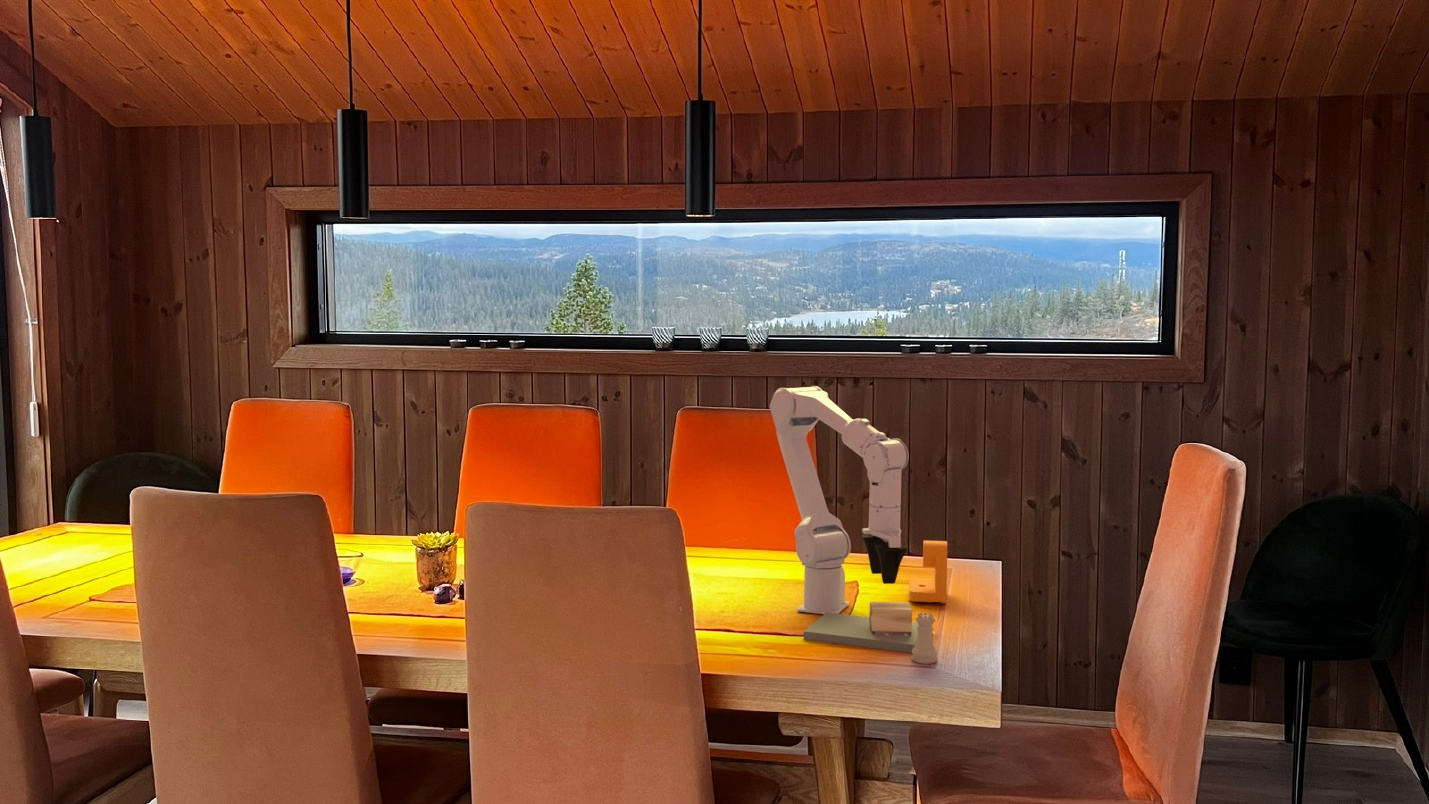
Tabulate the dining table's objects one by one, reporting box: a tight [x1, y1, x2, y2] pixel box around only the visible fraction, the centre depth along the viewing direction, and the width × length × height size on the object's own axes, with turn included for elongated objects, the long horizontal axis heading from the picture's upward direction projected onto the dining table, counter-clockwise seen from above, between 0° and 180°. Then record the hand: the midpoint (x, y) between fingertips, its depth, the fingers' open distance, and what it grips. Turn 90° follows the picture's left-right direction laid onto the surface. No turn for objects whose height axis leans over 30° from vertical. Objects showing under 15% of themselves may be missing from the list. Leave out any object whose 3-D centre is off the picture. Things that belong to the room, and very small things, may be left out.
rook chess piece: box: [910, 611, 939, 665], centre depth 205 cm, size 4×4×8 cm
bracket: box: [908, 540, 948, 604], centre depth 246 cm, size 11×7×12 cm, turn 171°
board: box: [803, 612, 918, 654], centre depth 220 cm, size 14×20×2 cm
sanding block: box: [868, 601, 913, 634], centre depth 218 cm, size 5×7×4 cm
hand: (883, 578), depth 224 cm, fingers open, 7 cm apart
